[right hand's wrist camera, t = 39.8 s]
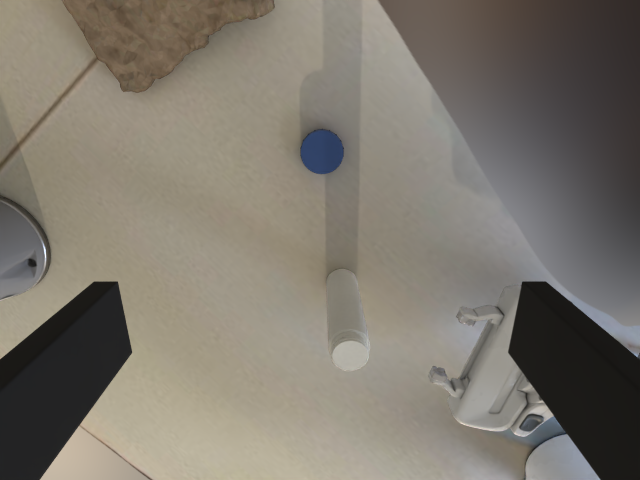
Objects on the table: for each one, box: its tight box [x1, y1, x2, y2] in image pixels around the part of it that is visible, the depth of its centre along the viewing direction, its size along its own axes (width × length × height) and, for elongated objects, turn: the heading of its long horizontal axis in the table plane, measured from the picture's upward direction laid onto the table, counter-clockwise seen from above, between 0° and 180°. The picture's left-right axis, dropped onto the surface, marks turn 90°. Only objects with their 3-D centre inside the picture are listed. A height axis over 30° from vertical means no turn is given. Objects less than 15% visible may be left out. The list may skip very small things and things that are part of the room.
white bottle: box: [326, 269, 370, 371], centre depth 50 cm, size 5×5×17 cm
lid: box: [300, 129, 344, 174], centre depth 50 cm, size 6×6×2 cm
